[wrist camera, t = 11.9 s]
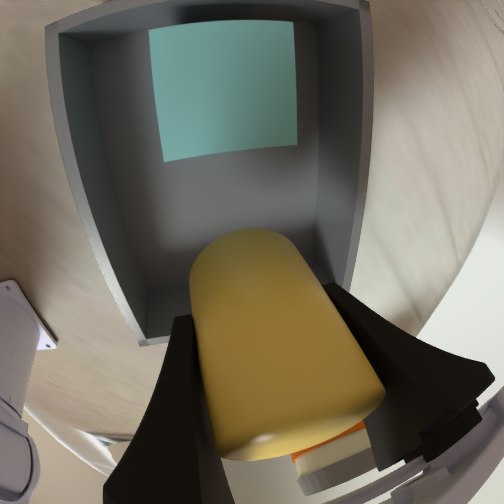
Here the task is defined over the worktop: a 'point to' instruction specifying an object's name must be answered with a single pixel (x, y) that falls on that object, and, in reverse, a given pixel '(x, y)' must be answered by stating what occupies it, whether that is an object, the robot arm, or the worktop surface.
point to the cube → (224, 86)
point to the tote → (212, 165)
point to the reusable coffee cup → (334, 460)
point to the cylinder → (273, 350)
